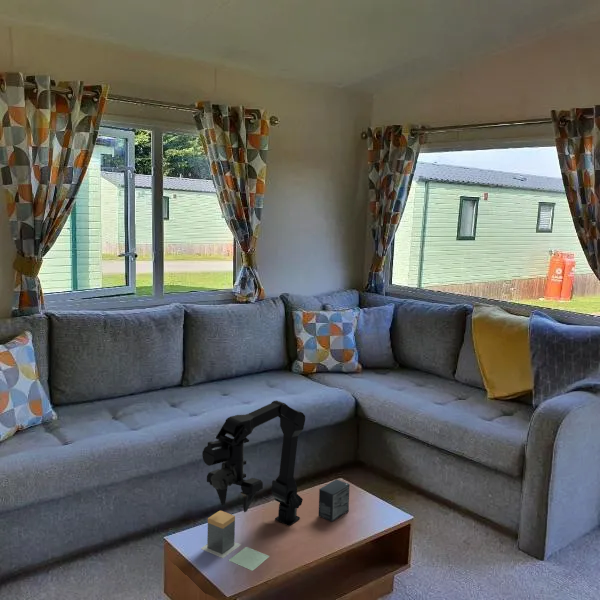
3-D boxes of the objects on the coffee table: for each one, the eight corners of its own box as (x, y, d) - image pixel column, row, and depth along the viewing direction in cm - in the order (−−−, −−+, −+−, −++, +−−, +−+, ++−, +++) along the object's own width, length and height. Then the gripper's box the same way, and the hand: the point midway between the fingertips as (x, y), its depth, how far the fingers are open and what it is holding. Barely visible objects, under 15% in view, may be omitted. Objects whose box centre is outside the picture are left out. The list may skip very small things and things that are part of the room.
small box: (334, 505, 216) (336, 478, 214) (349, 511, 212) (350, 483, 210) (317, 515, 208) (318, 488, 206) (332, 522, 204) (333, 494, 202)
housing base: (219, 539, 189) (219, 514, 188) (234, 545, 186) (234, 520, 185) (207, 548, 184) (207, 522, 183) (222, 554, 181) (222, 528, 179)
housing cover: (219, 519, 188) (220, 510, 187) (234, 525, 185) (235, 515, 184) (207, 527, 183) (207, 518, 182) (222, 533, 180) (223, 524, 179)
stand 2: (246, 549, 185) (246, 546, 185) (269, 559, 181) (269, 556, 181) (228, 563, 178) (228, 560, 178) (252, 573, 173) (252, 570, 173)
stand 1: (218, 538, 191) (218, 535, 191) (240, 547, 186) (241, 544, 186) (200, 551, 183) (200, 548, 183) (223, 561, 179) (223, 558, 179)
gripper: (194, 459, 181) (193, 509, 181) (239, 470, 170) (239, 524, 170) (219, 451, 190) (218, 498, 190) (264, 461, 179) (263, 512, 179)
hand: (234, 508), depth 182 cm, fingers open, 9 cm apart
